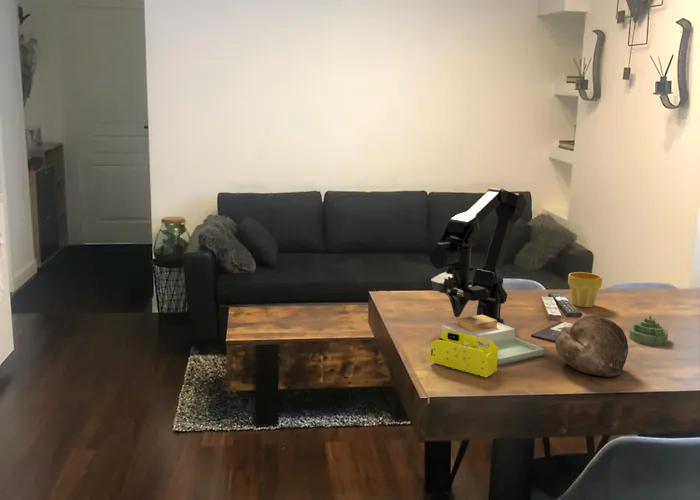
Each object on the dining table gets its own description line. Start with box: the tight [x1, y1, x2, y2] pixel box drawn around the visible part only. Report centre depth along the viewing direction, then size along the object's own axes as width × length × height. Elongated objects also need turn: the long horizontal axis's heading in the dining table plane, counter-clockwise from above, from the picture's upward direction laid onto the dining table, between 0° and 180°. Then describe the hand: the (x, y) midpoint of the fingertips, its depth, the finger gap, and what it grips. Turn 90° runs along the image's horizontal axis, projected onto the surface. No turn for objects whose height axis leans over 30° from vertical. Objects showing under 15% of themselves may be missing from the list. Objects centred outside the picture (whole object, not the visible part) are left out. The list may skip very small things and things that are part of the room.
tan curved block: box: [456, 314, 497, 332], centre depth 208 cm, size 9×6×2 cm, turn 122°
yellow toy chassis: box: [429, 330, 498, 378], centre depth 186 cm, size 16×6×8 cm, turn 51°
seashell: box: [554, 313, 629, 378], centre depth 189 cm, size 16×17×15 cm
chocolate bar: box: [530, 321, 573, 344], centre depth 217 cm, size 9×1×18 cm
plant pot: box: [567, 271, 603, 308], centre depth 245 cm, size 10×10×10 cm
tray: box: [483, 336, 545, 366], centre depth 199 cm, size 16×11×2 cm
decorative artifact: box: [628, 315, 669, 346], centre depth 213 cm, size 10×7×10 cm
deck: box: [440, 322, 516, 342], centre depth 208 cm, size 16×12×4 cm
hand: (456, 316), depth 215 cm, fingers closed
